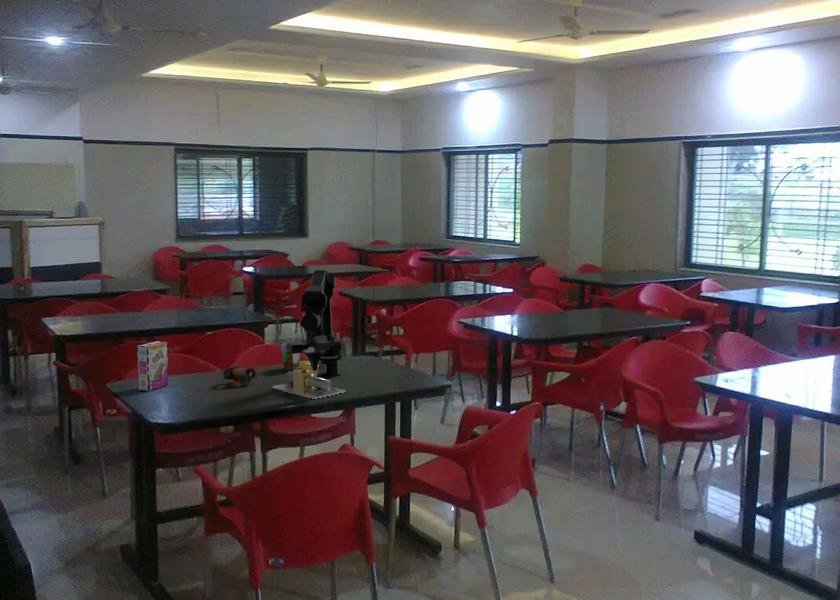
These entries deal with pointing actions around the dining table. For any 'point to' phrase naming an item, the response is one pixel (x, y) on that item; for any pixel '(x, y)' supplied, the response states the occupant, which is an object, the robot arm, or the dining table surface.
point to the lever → (306, 365)
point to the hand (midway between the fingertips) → (314, 370)
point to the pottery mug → (239, 375)
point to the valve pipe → (307, 385)
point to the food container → (290, 358)
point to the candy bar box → (152, 365)
